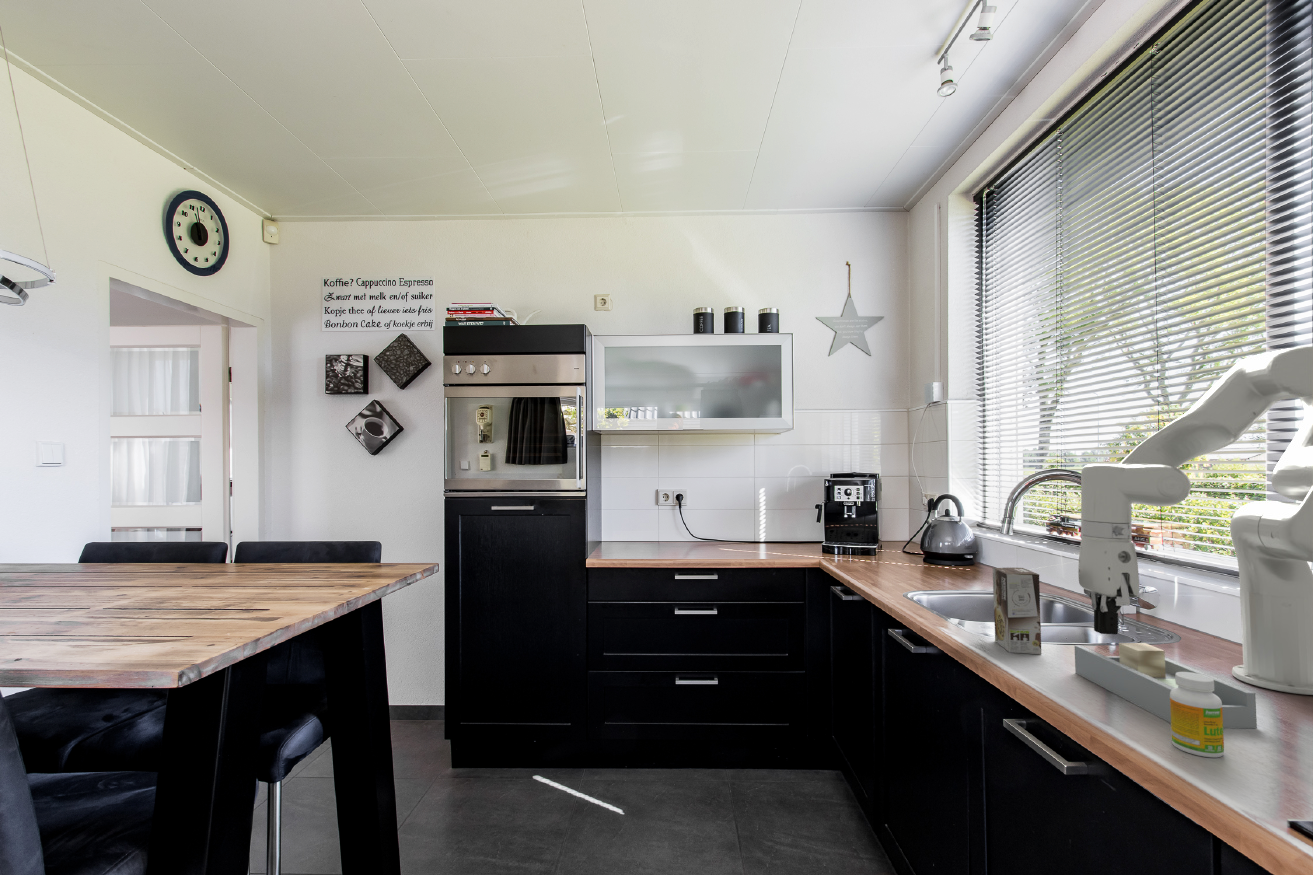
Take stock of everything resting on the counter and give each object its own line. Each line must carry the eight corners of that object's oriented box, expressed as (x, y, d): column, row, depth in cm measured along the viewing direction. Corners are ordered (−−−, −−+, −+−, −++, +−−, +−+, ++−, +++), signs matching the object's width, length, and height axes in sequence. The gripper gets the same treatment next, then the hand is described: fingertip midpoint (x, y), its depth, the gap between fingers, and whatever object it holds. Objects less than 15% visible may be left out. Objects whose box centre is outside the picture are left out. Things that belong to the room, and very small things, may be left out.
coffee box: (1043, 654, 126) (1040, 574, 127) (1008, 653, 128) (1005, 573, 128) (1026, 642, 135) (1023, 566, 136) (993, 640, 137) (991, 566, 137)
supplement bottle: (1210, 761, 81) (1207, 685, 82) (1162, 744, 86) (1160, 672, 86) (1233, 753, 83) (1229, 679, 84) (1185, 737, 88) (1182, 667, 89)
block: (1145, 668, 108) (1144, 643, 109) (1165, 677, 104) (1164, 650, 104) (1119, 668, 109) (1118, 642, 109) (1138, 677, 104) (1137, 650, 104)
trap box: (1136, 672, 115) (1135, 645, 115) (1257, 727, 91) (1255, 693, 91) (1075, 672, 116) (1074, 645, 116) (1179, 727, 92) (1177, 692, 92)
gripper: (1158, 537, 107) (1158, 645, 106) (1099, 527, 122) (1099, 623, 121) (1113, 535, 107) (1113, 644, 107) (1060, 526, 122) (1059, 621, 122)
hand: (1105, 632), depth 114 cm, fingers closed
